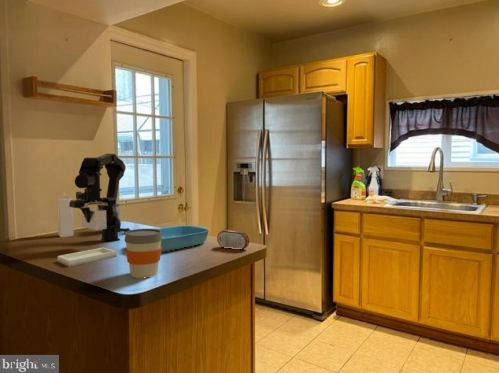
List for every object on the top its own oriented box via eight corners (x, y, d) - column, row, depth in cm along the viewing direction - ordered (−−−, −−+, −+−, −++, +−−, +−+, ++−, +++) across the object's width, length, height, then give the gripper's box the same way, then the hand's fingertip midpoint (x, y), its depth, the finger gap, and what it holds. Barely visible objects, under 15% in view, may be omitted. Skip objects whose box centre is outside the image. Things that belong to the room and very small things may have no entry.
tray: (104, 252, 161) (103, 247, 161) (116, 256, 155) (116, 251, 155) (57, 261, 147) (57, 256, 147) (69, 266, 141) (69, 260, 140)
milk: (60, 237, 189) (58, 193, 187) (58, 235, 194) (56, 192, 192) (73, 236, 193) (72, 192, 191) (71, 233, 198) (69, 191, 196)
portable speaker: (249, 250, 168) (249, 231, 167) (246, 251, 165) (246, 232, 164) (219, 246, 174) (219, 228, 173) (216, 247, 171) (216, 229, 170)
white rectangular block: (92, 225, 173) (92, 207, 172) (106, 228, 165) (106, 210, 164) (82, 226, 169) (81, 208, 168) (95, 230, 161) (95, 211, 160)
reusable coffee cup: (138, 267, 140) (138, 227, 139) (169, 270, 137) (168, 229, 135) (117, 278, 128) (116, 234, 127) (150, 281, 125) (149, 237, 123)
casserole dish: (188, 236, 196) (188, 222, 195) (218, 243, 181) (218, 228, 180) (123, 248, 169) (122, 232, 169) (150, 258, 154) (150, 240, 153)
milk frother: (105, 229, 209) (105, 203, 208) (134, 229, 211) (134, 203, 209) (98, 235, 195) (97, 206, 194) (129, 235, 197) (128, 206, 195)
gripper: (103, 184, 178) (104, 217, 179) (62, 186, 163) (64, 222, 165) (116, 185, 170) (117, 220, 172) (74, 188, 156) (76, 225, 157)
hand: (94, 221), depth 167 cm, fingers closed on white rectangular block, 5 cm apart
